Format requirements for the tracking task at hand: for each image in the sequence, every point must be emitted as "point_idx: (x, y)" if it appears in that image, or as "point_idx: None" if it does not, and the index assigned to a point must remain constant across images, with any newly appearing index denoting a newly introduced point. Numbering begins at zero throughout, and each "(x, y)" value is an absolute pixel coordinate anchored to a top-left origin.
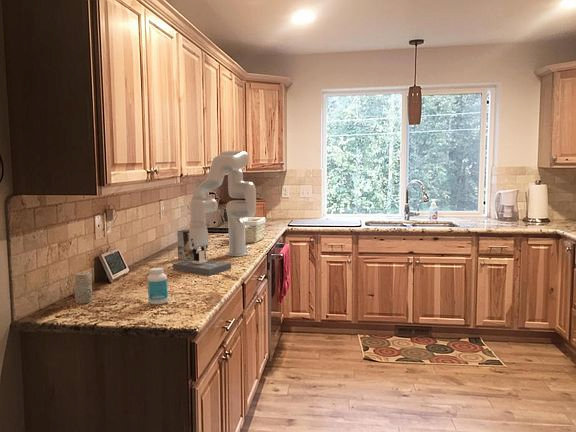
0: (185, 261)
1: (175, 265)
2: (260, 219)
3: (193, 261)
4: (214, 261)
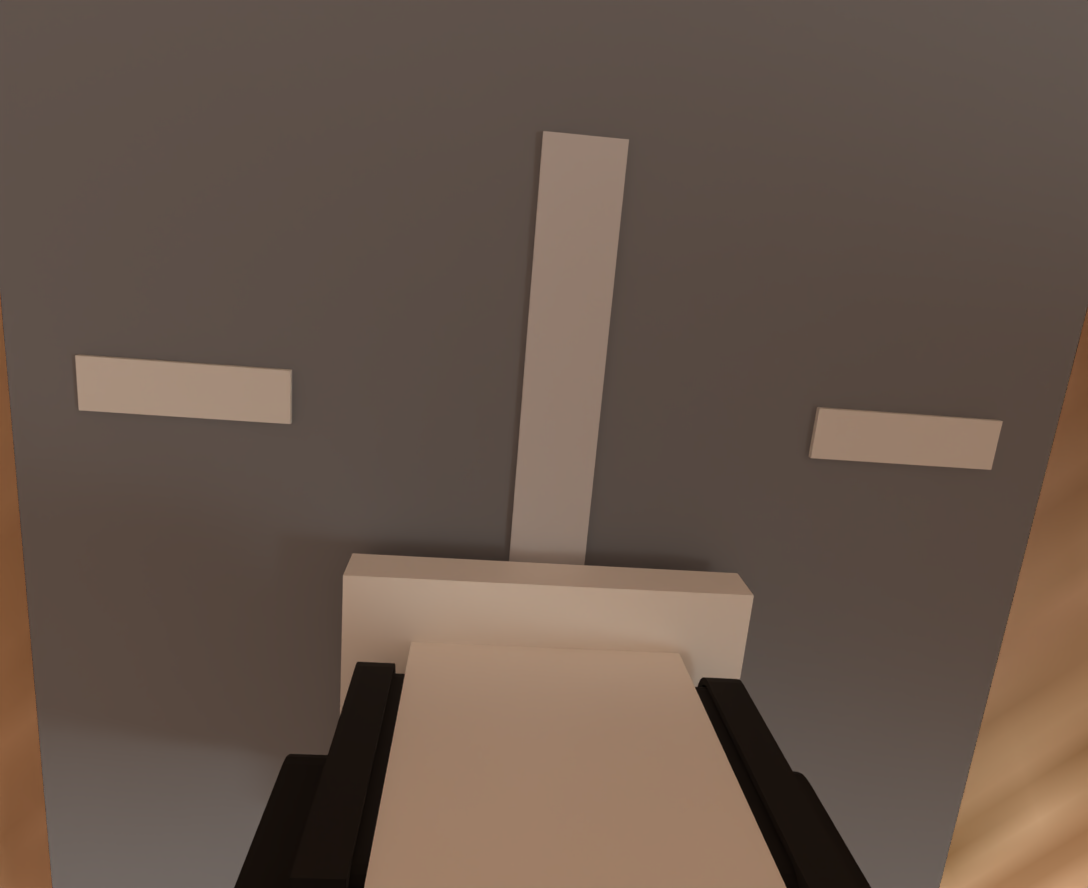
0: (534, 70)
1: (7, 40)
2: None
3: (359, 617)
4: (875, 881)
